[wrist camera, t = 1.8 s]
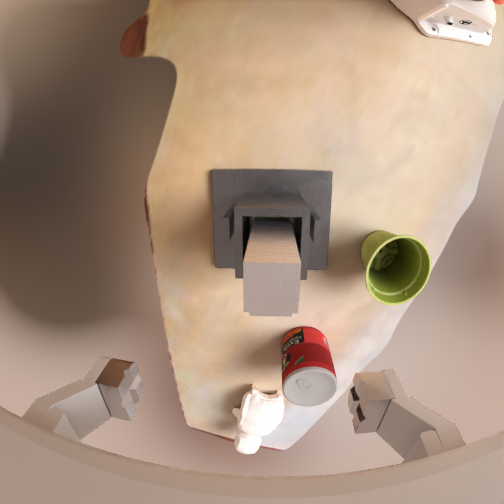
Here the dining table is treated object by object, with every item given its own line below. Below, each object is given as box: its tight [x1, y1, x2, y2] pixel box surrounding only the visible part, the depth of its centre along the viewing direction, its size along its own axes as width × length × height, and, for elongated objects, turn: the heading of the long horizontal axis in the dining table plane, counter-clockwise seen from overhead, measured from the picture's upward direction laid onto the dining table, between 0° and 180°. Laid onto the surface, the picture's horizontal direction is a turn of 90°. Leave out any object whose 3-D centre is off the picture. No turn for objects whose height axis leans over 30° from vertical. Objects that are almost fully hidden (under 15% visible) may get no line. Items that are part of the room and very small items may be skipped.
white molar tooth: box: [232, 384, 284, 454], centre depth 51 cm, size 9×8×15 cm
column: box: [243, 216, 301, 316], centre depth 31 cm, size 4×5×20 cm
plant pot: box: [361, 231, 431, 305], centre depth 38 cm, size 9×9×9 cm
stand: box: [212, 169, 332, 280], centre depth 36 cm, size 16×14×13 cm
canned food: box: [281, 327, 337, 406], centre depth 43 cm, size 8×8×11 cm
